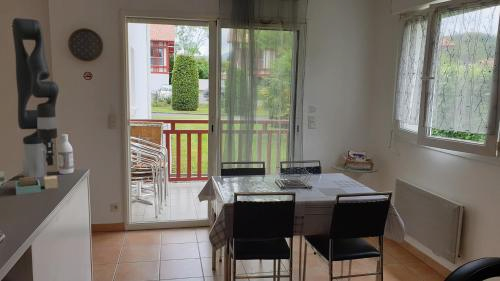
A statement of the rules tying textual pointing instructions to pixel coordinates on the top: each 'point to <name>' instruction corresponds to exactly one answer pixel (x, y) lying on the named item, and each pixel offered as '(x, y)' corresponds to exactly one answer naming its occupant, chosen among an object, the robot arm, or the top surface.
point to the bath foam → (65, 156)
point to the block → (27, 181)
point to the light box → (50, 182)
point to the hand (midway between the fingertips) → (49, 163)
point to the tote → (28, 188)
